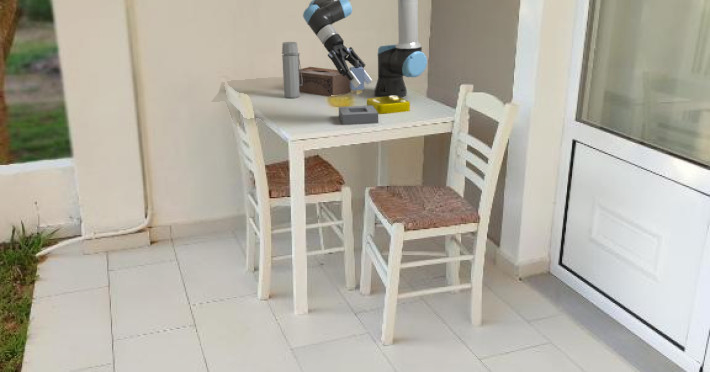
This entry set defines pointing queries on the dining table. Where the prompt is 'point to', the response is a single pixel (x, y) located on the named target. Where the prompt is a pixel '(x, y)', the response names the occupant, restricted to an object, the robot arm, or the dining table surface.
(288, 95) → the water bottle
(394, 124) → the dining table surface
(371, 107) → the socket
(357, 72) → the plug
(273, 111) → the dining table surface
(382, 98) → the element tile
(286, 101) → the dining table surface
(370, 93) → the dining table surface
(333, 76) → the tissue box cover
